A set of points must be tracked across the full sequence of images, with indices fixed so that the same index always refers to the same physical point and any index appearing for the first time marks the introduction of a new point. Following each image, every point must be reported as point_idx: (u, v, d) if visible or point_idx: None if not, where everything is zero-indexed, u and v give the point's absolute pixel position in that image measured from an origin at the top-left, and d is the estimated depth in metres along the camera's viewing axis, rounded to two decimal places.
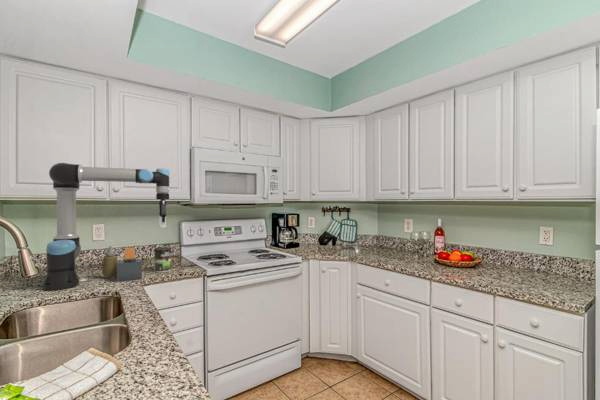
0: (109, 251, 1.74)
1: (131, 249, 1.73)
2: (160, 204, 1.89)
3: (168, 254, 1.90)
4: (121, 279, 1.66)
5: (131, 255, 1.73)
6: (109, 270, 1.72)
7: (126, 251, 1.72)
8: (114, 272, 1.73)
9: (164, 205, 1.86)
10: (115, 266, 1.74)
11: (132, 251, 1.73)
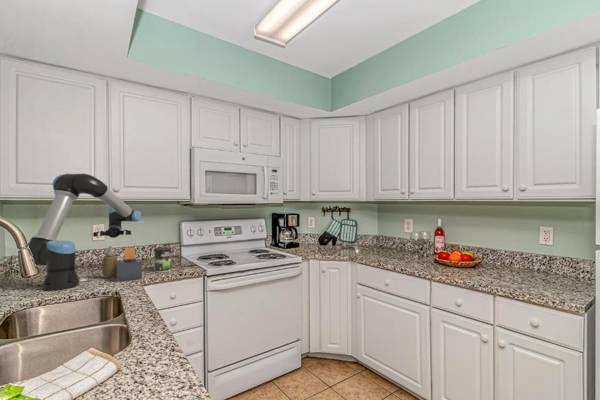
0: (109, 251, 1.74)
1: (131, 249, 1.73)
2: (118, 230, 1.97)
3: (168, 254, 1.90)
4: (121, 279, 1.66)
5: (131, 255, 1.73)
6: (109, 270, 1.72)
7: (126, 251, 1.72)
8: (114, 272, 1.73)
9: None
10: (115, 266, 1.74)
11: (132, 251, 1.73)
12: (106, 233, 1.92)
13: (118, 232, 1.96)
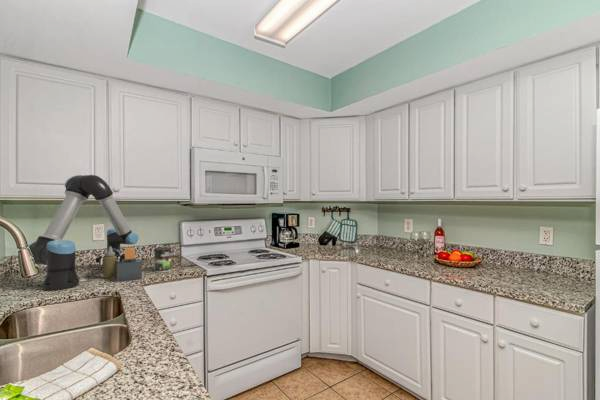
0: (109, 251, 1.74)
1: (131, 249, 1.73)
2: (116, 254, 1.85)
3: (168, 254, 1.90)
4: (121, 279, 1.66)
5: (131, 255, 1.73)
6: (109, 270, 1.72)
7: (126, 251, 1.72)
8: (114, 272, 1.73)
9: None
10: (115, 266, 1.74)
11: (132, 251, 1.73)
12: None
13: None
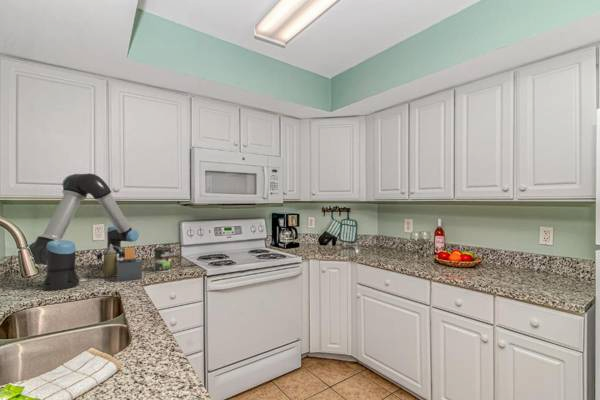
0: (110, 249, 1.74)
1: (131, 249, 1.73)
2: (116, 251, 1.86)
3: (168, 254, 1.90)
4: (121, 279, 1.66)
5: (131, 255, 1.73)
6: (110, 268, 1.72)
7: (126, 251, 1.72)
8: (114, 270, 1.73)
9: None
10: (115, 264, 1.74)
11: (132, 251, 1.73)
12: None
13: None
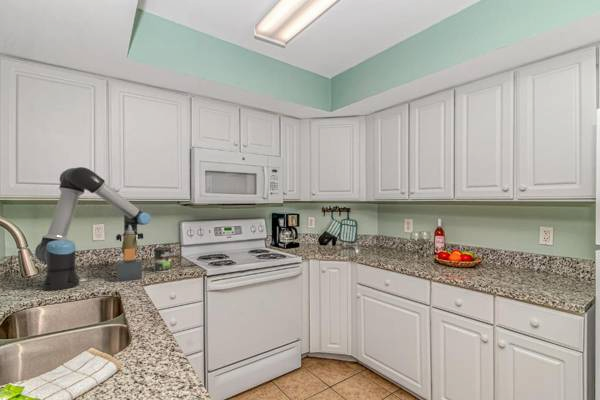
0: (129, 229, 1.74)
1: (131, 250, 1.70)
2: (134, 233, 1.85)
3: (168, 254, 1.90)
4: (121, 279, 1.66)
5: (131, 256, 1.70)
6: (129, 248, 1.71)
7: (126, 252, 1.69)
8: None
9: None
10: (135, 244, 1.74)
11: (132, 252, 1.70)
12: None
13: None
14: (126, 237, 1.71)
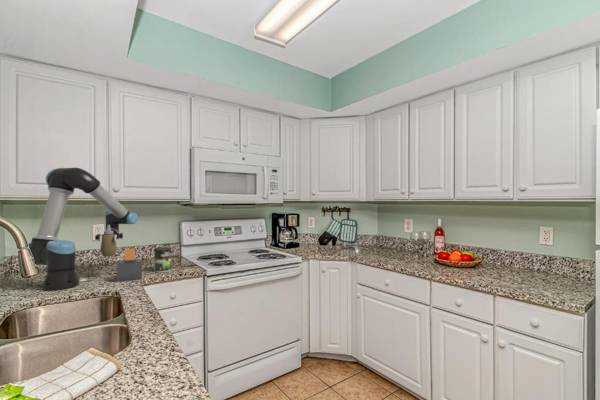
0: (107, 229, 1.76)
1: (131, 250, 1.70)
2: (114, 233, 1.87)
3: (168, 254, 1.90)
4: (121, 279, 1.66)
5: (131, 256, 1.70)
6: (108, 248, 1.74)
7: (126, 252, 1.68)
8: (112, 250, 1.75)
9: None
10: (113, 244, 1.76)
11: (132, 252, 1.70)
12: None
13: None
14: (104, 237, 1.74)
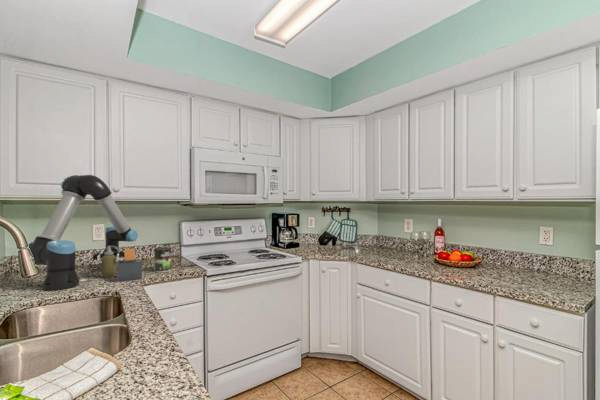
0: (108, 250, 1.76)
1: (131, 250, 1.70)
2: (114, 251, 1.88)
3: (168, 254, 1.90)
4: (121, 279, 1.66)
5: (131, 256, 1.70)
6: (108, 269, 1.73)
7: (126, 252, 1.68)
8: (112, 271, 1.75)
9: None
10: (113, 265, 1.76)
11: (132, 252, 1.70)
12: (104, 255, 1.83)
13: None
14: (105, 258, 1.74)
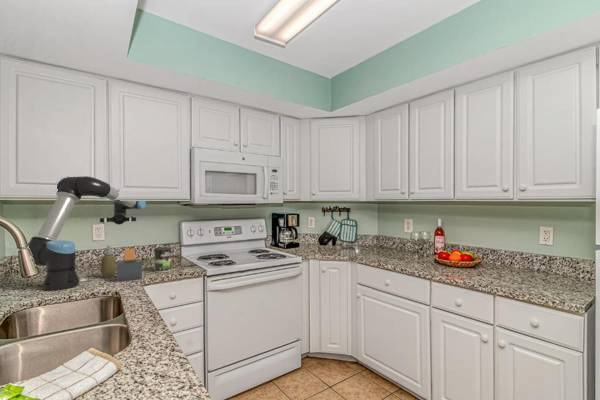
0: (107, 250, 1.76)
1: (131, 250, 1.70)
2: (123, 216, 2.04)
3: (168, 254, 1.90)
4: (121, 279, 1.66)
5: (131, 256, 1.70)
6: (108, 269, 1.73)
7: (126, 252, 1.68)
8: (112, 271, 1.75)
9: None
10: (113, 265, 1.76)
11: (132, 252, 1.70)
12: (112, 219, 1.98)
13: (123, 218, 2.02)
14: (104, 258, 1.74)
